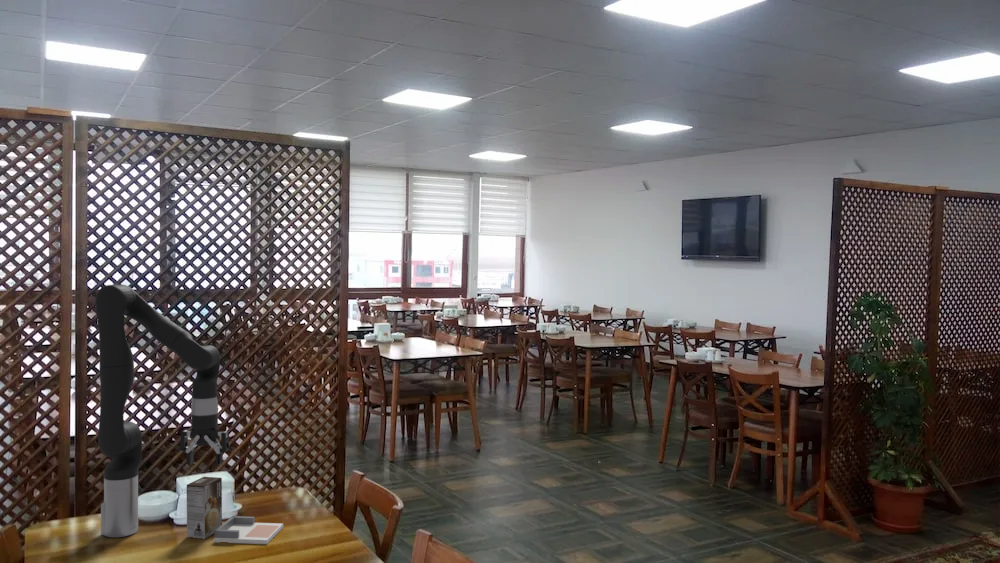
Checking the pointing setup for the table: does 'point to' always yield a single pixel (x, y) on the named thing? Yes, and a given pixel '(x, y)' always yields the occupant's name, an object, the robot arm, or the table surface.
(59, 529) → the table surface
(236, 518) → the slide dock
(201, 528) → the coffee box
